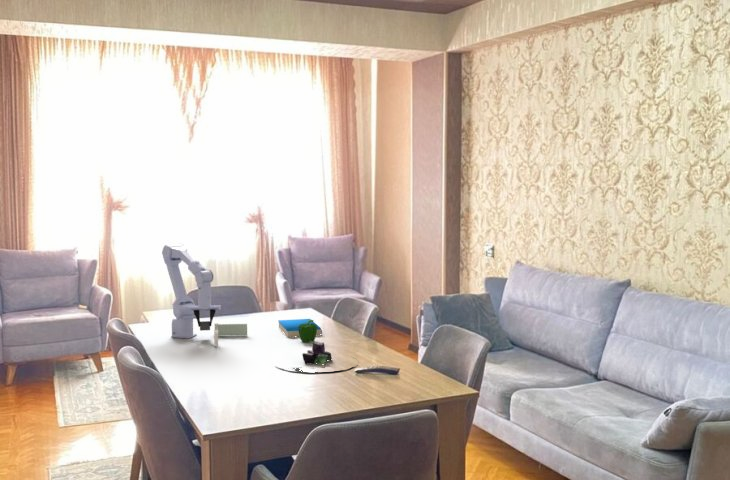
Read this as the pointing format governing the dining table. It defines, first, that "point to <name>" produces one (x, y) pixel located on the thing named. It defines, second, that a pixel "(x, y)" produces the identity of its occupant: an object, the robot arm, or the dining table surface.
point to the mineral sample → (315, 356)
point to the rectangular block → (216, 334)
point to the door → (232, 329)
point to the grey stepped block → (204, 325)
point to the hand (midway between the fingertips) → (204, 326)
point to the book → (295, 326)
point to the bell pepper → (307, 331)
